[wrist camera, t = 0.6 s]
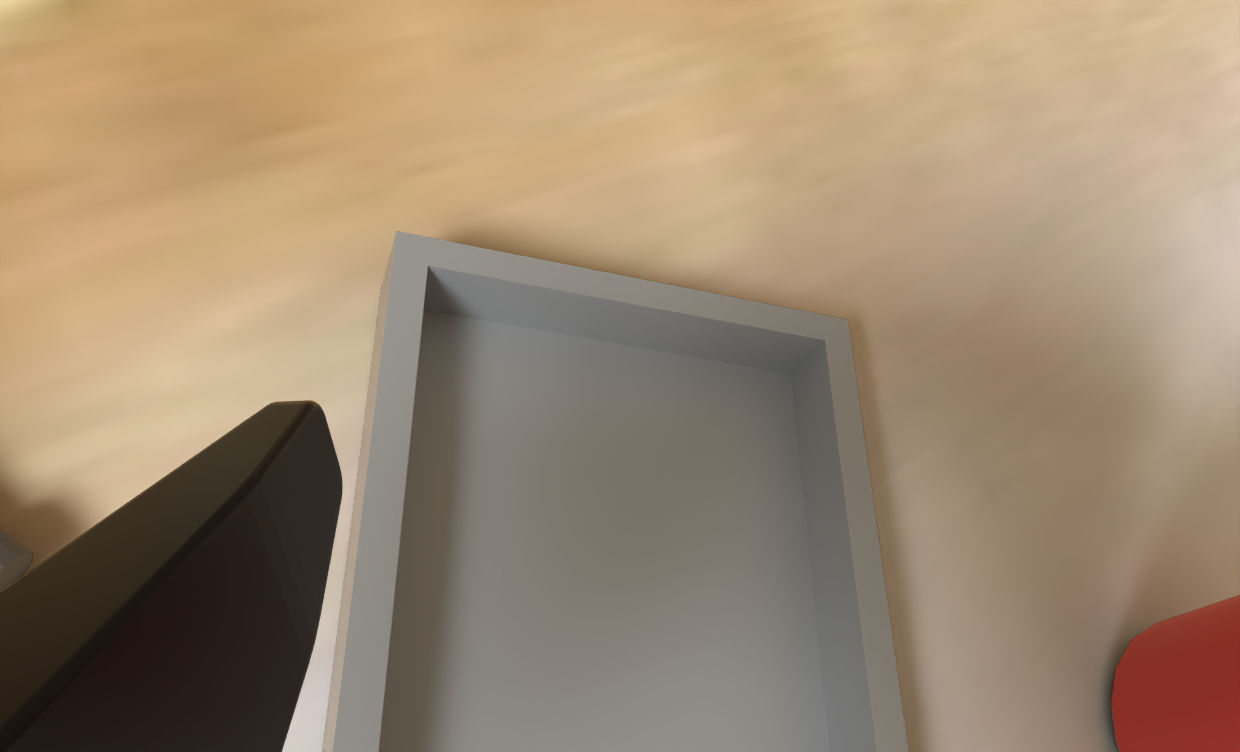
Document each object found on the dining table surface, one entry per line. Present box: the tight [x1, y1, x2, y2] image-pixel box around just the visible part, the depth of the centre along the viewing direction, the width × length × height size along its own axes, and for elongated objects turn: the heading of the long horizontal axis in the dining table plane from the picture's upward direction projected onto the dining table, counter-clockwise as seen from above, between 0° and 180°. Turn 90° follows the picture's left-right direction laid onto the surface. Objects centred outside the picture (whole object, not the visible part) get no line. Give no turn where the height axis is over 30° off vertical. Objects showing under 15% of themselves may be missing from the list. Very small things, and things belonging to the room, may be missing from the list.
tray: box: [322, 231, 909, 752], centre depth 23 cm, size 16×12×2 cm
